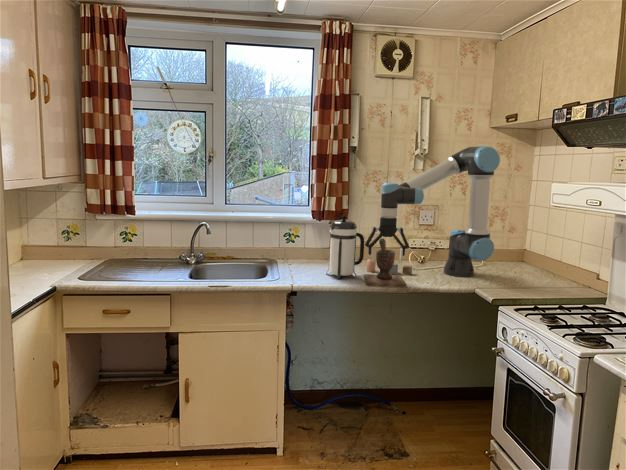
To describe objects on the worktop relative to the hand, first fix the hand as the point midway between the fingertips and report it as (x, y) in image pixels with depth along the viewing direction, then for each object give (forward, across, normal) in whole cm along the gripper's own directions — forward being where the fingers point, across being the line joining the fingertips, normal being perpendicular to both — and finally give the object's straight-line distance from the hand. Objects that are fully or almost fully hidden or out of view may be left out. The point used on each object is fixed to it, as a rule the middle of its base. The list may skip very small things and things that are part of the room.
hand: (386, 262), depth 212 cm
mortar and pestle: (+8, 0, 0) cm, 8 cm away
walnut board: (+10, 0, 0) cm, 10 cm away
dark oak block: (+10, -14, -18) cm, 25 cm away
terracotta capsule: (+10, +4, -21) cm, 23 cm away
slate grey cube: (+10, -6, -19) cm, 22 cm away
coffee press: (+10, +19, -9) cm, 23 cm away
